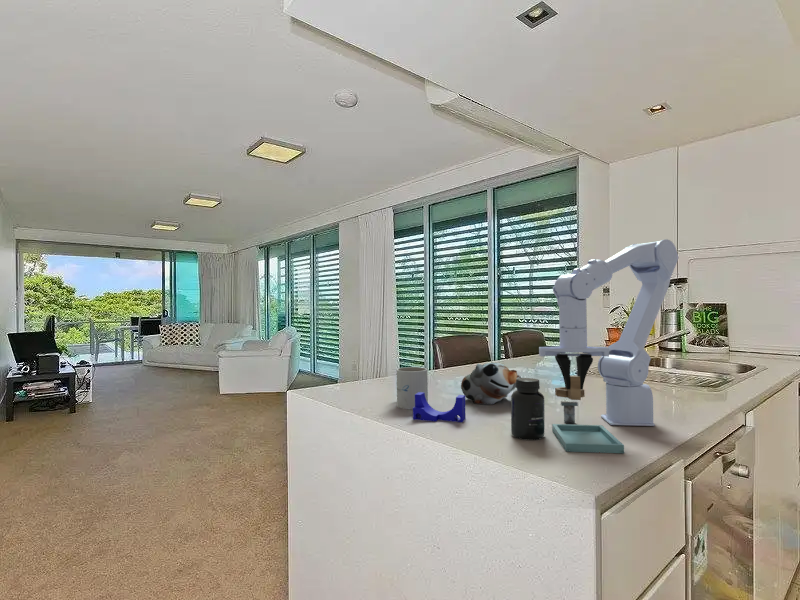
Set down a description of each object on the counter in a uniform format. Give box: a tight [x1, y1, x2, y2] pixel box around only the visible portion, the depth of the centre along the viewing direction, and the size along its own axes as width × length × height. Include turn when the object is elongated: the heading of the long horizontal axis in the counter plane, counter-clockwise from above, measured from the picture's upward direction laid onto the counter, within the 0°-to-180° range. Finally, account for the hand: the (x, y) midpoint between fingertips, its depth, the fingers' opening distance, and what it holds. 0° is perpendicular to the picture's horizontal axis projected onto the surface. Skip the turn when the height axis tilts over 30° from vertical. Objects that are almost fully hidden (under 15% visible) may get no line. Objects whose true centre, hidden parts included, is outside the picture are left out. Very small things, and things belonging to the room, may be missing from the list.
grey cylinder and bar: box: [560, 401, 579, 425], centre depth 105 cm, size 4×2×5 cm, turn 82°
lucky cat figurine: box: [460, 362, 522, 405], centre depth 128 cm, size 15×12×14 cm
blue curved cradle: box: [412, 392, 467, 423], centre depth 109 cm, size 12×4×6 cm, turn 67°
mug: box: [396, 366, 429, 410], centre depth 126 cm, size 12×9×10 cm
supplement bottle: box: [510, 377, 546, 441], centre depth 95 cm, size 7×7×12 cm
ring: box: [554, 374, 585, 401], centre depth 103 cm, size 9×6×5 cm, turn 171°
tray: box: [551, 423, 625, 454], centre depth 91 cm, size 10×14×2 cm
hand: (574, 388), depth 100 cm, fingers closed on ring
